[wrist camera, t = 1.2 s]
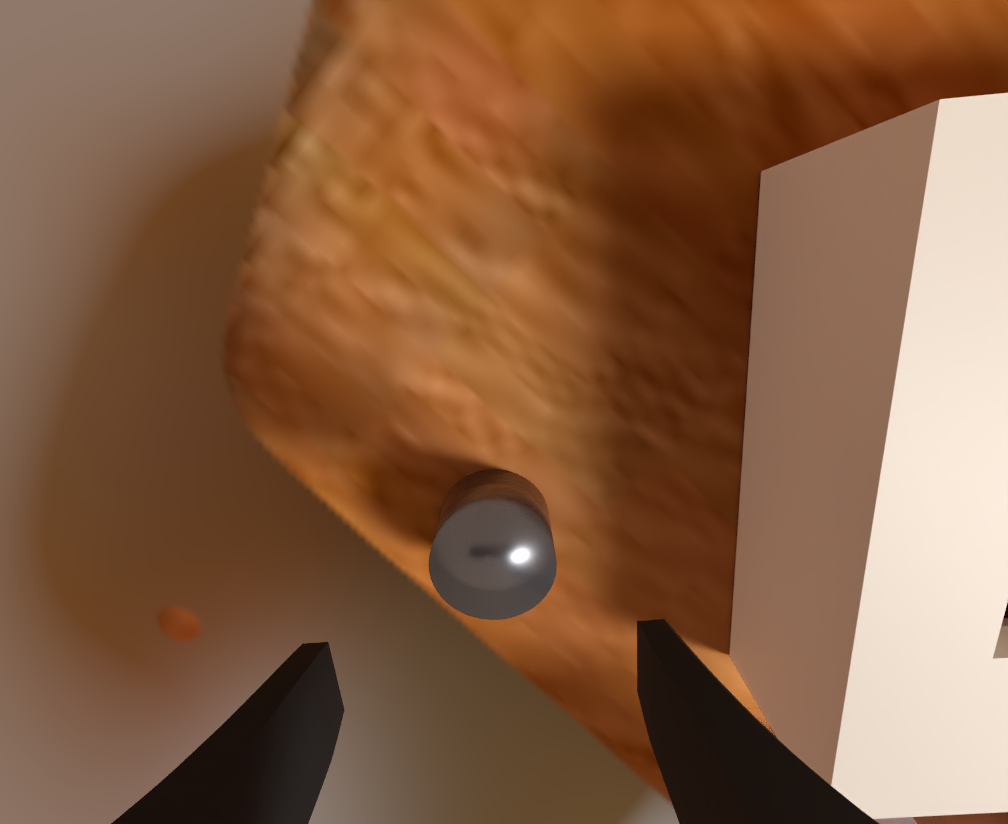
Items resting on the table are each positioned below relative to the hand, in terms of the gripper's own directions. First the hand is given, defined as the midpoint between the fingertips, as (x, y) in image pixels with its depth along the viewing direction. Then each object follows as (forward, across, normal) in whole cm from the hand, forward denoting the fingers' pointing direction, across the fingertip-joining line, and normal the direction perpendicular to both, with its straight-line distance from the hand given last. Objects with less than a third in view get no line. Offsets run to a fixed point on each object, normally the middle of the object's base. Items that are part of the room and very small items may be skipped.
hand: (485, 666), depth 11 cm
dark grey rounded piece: (+7, 0, 0) cm, 7 cm away
